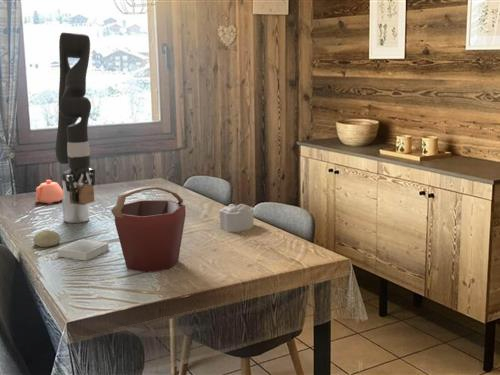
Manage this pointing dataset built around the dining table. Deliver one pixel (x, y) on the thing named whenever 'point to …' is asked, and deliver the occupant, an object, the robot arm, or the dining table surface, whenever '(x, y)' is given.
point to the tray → (83, 249)
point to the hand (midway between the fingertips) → (82, 200)
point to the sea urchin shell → (46, 238)
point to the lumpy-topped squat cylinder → (236, 218)
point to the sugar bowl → (49, 192)
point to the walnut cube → (84, 194)
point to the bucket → (149, 231)
